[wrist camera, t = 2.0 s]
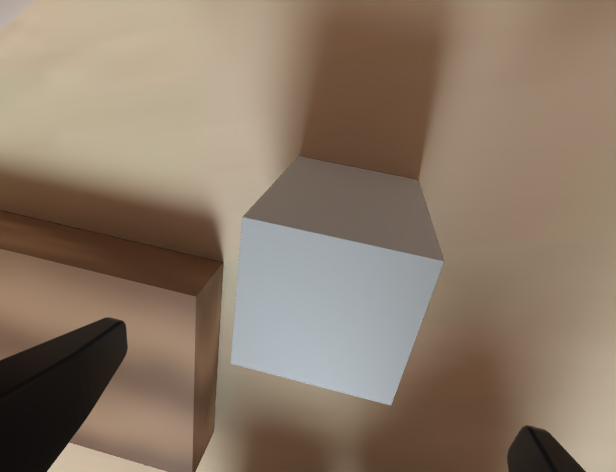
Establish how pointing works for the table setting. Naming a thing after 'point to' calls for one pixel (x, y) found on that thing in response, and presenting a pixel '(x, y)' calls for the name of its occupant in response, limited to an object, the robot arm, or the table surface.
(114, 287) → the walnut base
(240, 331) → the grey block
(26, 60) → the table surface
